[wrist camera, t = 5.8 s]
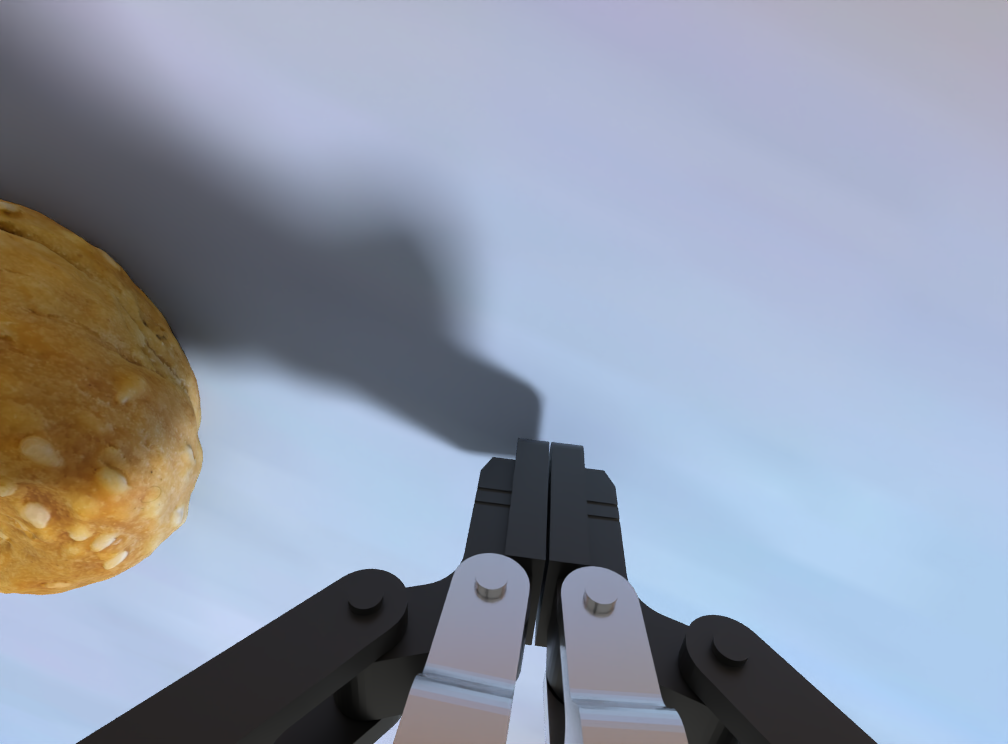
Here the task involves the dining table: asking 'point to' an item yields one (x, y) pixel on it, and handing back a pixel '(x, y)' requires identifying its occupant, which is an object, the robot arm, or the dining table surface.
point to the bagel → (85, 413)
